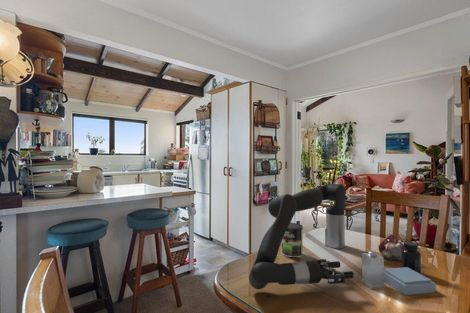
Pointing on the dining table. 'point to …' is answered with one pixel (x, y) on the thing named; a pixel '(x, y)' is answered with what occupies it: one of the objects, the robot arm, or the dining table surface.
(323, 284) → the dining table surface
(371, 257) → the block
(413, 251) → the supplement bottle
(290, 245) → the coffee can
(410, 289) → the stand
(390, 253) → the brake caliper
